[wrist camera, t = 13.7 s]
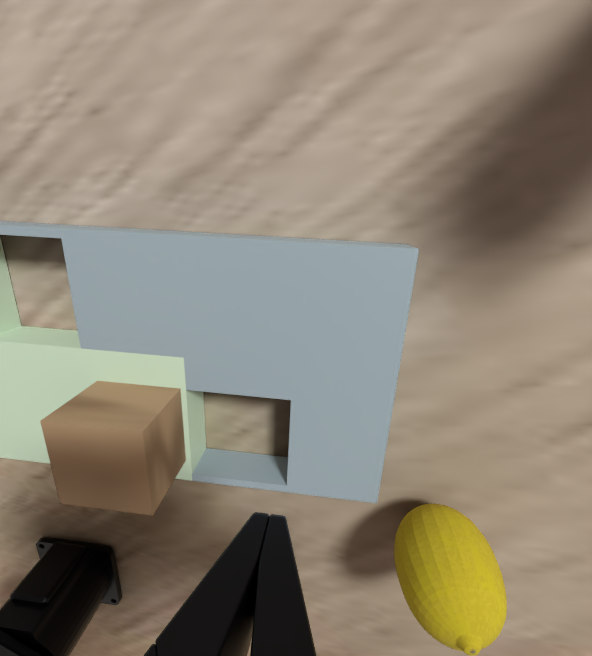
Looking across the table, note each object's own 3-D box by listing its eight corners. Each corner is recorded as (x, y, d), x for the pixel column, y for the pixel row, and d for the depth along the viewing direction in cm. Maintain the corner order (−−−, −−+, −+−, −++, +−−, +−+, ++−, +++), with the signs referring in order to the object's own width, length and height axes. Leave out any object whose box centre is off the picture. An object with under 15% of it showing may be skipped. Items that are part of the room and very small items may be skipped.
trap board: (372, 472, 22) (377, 510, 20) (3, 430, 25) (-40, 458, 22) (407, 244, 17) (421, 249, 15) (-58, 217, 20) (-123, 218, 17)
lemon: (472, 534, 23) (540, 688, 16) (392, 541, 24) (419, 689, 17) (465, 471, 22) (535, 608, 14) (378, 481, 23) (402, 615, 15)
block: (185, 460, 20) (152, 515, 17) (109, 451, 21) (60, 503, 17) (180, 388, 19) (142, 432, 15) (97, 380, 19) (40, 420, 15)
